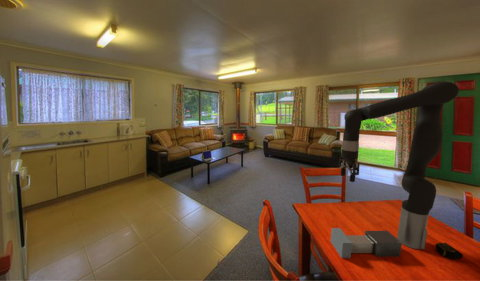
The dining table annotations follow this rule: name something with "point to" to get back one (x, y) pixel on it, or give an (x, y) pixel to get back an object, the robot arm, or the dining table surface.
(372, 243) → the light grey square bar
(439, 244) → the tape measure
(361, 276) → the dining table surface
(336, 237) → the grey block
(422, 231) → the robot arm
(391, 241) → the sleeve
